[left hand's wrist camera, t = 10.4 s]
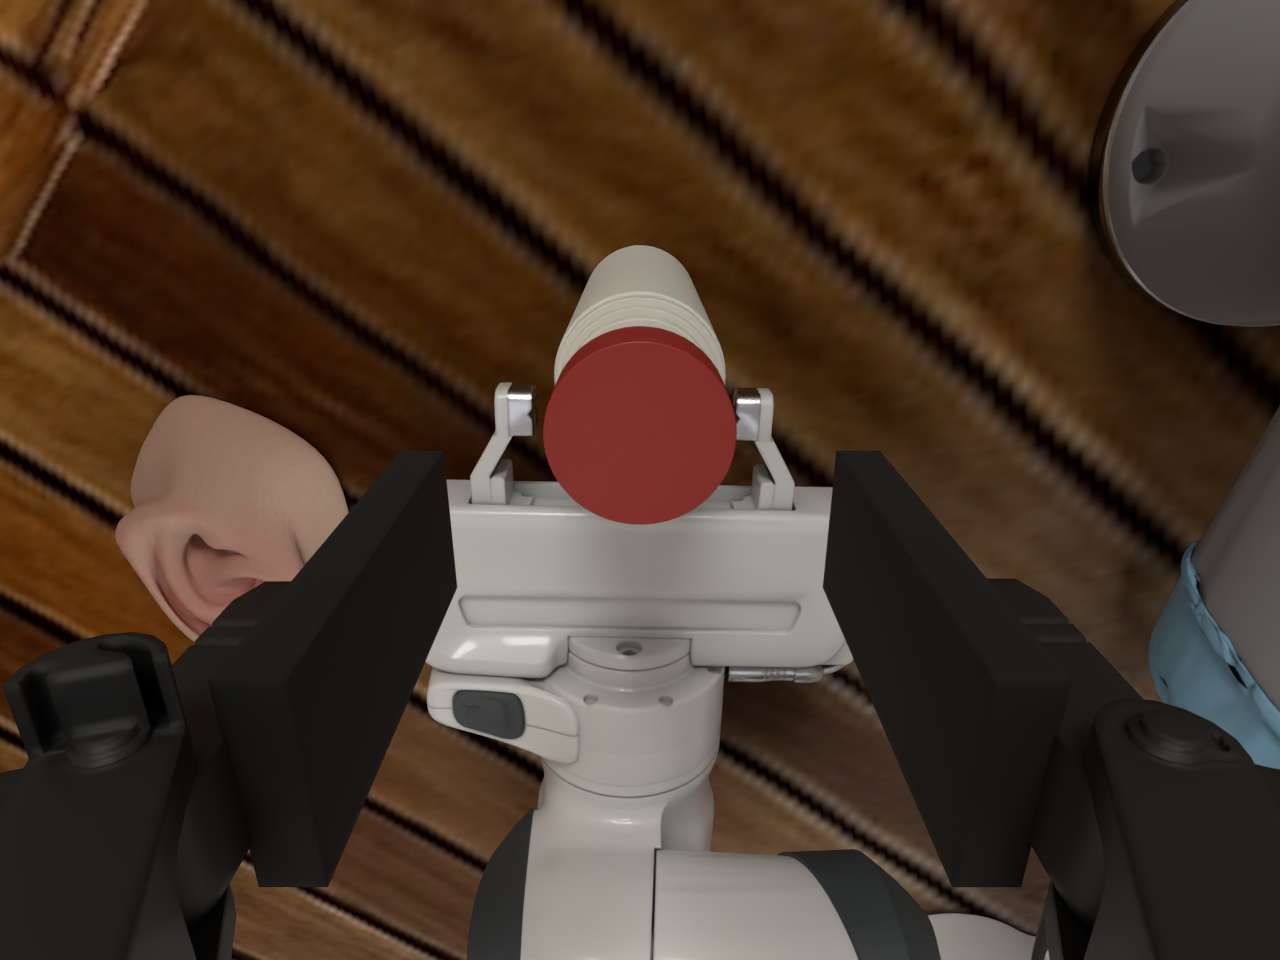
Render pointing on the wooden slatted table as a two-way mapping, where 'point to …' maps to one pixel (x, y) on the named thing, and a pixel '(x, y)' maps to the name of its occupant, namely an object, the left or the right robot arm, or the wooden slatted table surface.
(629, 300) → the bottle
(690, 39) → the wooden slatted table surface
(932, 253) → the wooden slatted table surface
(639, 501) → the cap
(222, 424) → the anatomical model
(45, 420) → the wooden slatted table surface
